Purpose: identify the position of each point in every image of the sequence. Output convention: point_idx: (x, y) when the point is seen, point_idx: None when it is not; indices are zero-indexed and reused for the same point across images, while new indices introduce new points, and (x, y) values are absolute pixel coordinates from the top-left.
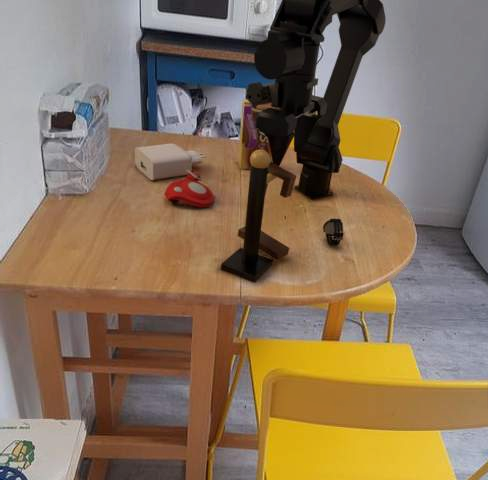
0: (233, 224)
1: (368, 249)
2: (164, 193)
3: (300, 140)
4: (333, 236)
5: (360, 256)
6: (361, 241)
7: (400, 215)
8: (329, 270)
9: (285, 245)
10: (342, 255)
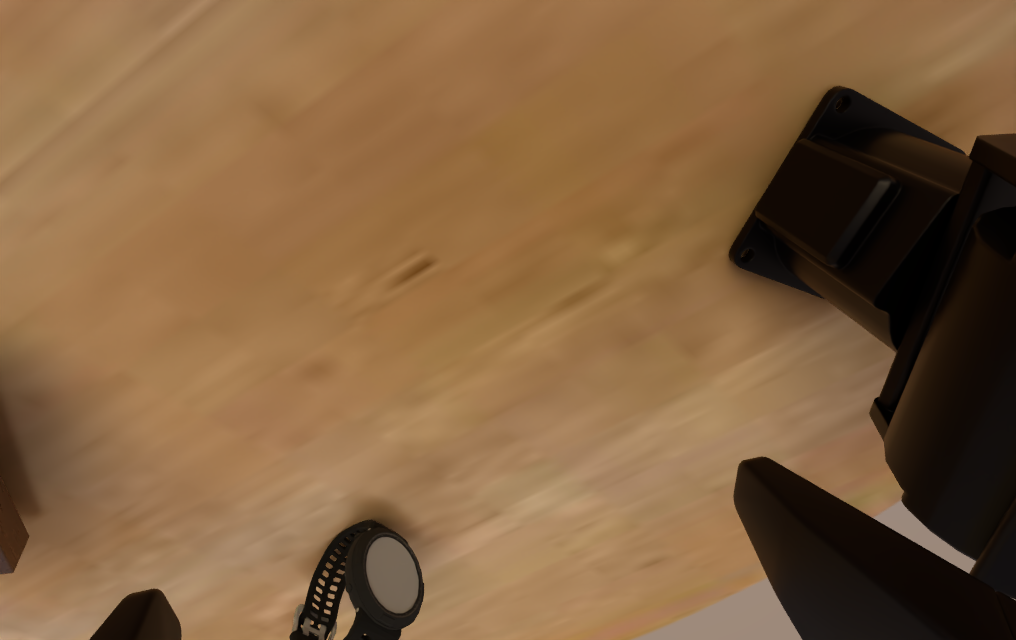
0: (16, 85)
1: (437, 616)
2: None
3: (832, 625)
4: (294, 627)
5: None
6: (476, 578)
7: None
8: None
9: (2, 557)
10: None
